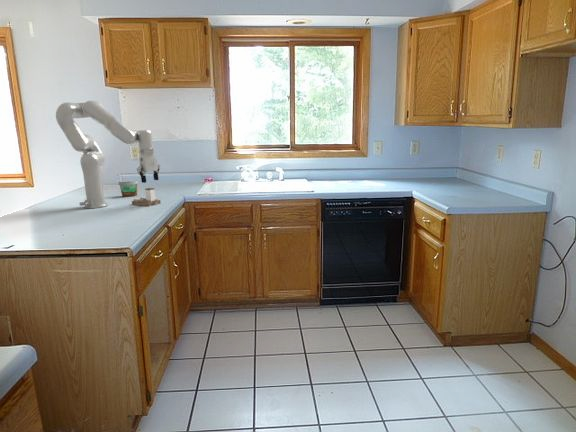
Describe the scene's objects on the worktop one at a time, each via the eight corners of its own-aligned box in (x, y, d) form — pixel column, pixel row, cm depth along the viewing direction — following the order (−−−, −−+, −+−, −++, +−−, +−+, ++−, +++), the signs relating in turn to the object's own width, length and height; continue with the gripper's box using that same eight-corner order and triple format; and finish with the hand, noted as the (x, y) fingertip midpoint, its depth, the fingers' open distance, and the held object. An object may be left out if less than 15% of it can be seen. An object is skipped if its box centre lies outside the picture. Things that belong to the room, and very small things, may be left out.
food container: (118, 197, 272) (117, 182, 270) (119, 196, 278) (118, 181, 276) (138, 196, 275) (137, 181, 273) (139, 195, 281) (137, 180, 279)
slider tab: (151, 201, 245) (150, 189, 244) (146, 200, 247) (145, 188, 246) (155, 200, 249) (154, 188, 247) (150, 199, 250) (149, 187, 249)
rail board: (149, 206, 243) (149, 201, 243) (132, 204, 249) (131, 199, 249) (160, 203, 251) (160, 198, 250) (143, 201, 257) (143, 197, 257)
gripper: (140, 153, 232) (143, 183, 236) (162, 150, 247) (165, 179, 251) (130, 153, 236) (134, 183, 240) (152, 150, 251) (156, 178, 255)
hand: (150, 181), depth 245 cm, fingers open, 9 cm apart
